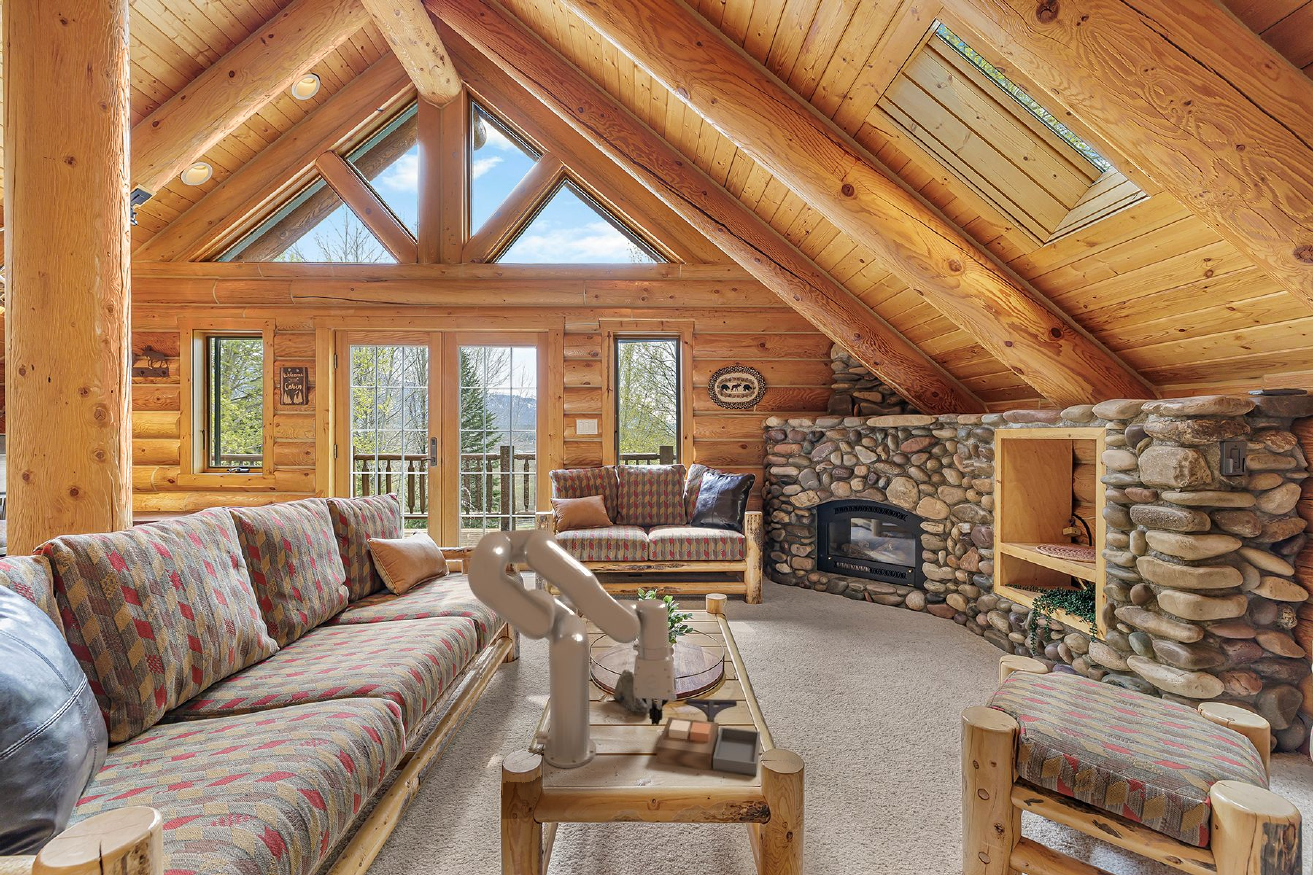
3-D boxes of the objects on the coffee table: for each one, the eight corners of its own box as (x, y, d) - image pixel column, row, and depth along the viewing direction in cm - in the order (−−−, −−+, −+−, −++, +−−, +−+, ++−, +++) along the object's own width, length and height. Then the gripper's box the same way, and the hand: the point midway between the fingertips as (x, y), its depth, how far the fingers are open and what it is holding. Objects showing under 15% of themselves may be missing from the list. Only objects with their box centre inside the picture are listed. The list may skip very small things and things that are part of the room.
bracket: (684, 731, 160) (684, 720, 160) (686, 703, 175) (686, 693, 175) (739, 733, 159) (739, 723, 159) (736, 705, 174) (736, 695, 174)
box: (713, 770, 142) (713, 757, 142) (720, 738, 156) (720, 726, 155) (756, 776, 140) (756, 763, 140) (760, 743, 153) (760, 731, 153)
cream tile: (669, 736, 149) (669, 728, 149) (672, 727, 153) (672, 719, 153) (687, 739, 148) (687, 731, 148) (690, 729, 152) (690, 721, 152)
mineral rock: (651, 720, 165) (650, 683, 164) (611, 720, 165) (611, 684, 164) (650, 696, 178) (650, 663, 177) (614, 697, 178) (613, 663, 177)
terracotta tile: (690, 739, 148) (690, 731, 148) (693, 729, 152) (693, 722, 152) (708, 741, 147) (708, 733, 147) (711, 731, 151) (711, 724, 151)
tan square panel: (656, 762, 145) (656, 746, 145) (668, 731, 159) (668, 716, 158) (710, 770, 142) (710, 753, 142) (718, 737, 156) (718, 722, 155)
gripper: (620, 654, 149) (623, 727, 150) (680, 658, 146) (682, 732, 147) (629, 642, 156) (631, 711, 158) (686, 646, 153) (688, 716, 154)
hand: (656, 721), depth 152 cm, fingers closed
